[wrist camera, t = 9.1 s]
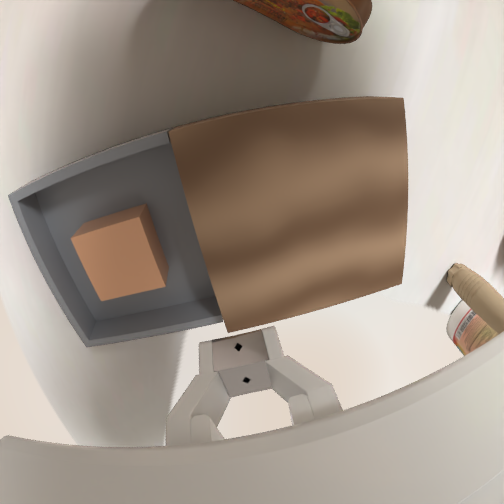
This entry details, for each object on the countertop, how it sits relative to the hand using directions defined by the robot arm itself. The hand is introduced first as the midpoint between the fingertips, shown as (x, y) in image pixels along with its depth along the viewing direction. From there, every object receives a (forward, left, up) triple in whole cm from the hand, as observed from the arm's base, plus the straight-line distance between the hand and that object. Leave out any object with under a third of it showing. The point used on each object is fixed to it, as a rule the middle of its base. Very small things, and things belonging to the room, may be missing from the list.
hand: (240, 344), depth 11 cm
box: (0, -9, -15) cm, 17 cm away
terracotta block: (0, -8, -11) cm, 14 cm away
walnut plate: (0, +6, -15) cm, 16 cm away
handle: (+14, +27, -15) cm, 34 cm away
